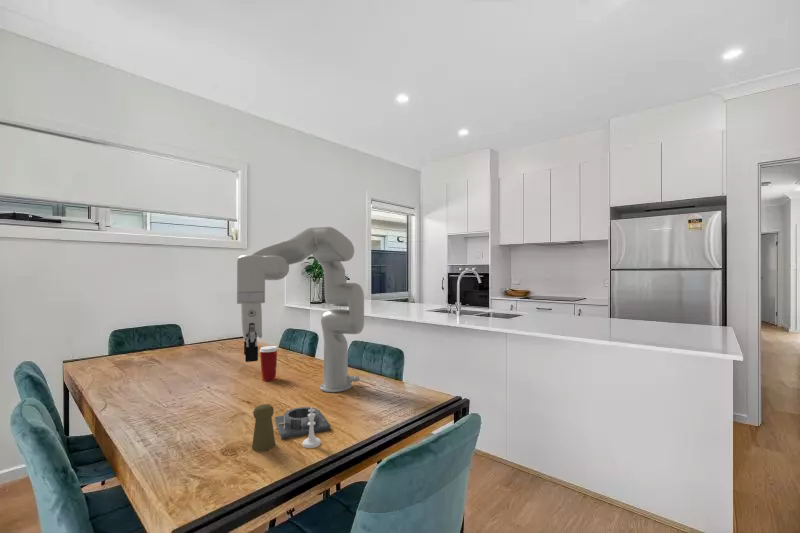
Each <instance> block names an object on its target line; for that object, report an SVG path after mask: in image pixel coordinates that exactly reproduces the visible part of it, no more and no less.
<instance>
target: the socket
mask: <svg viewBox="0 0 800 533" xmlns="http://www.w3.org/2000/svg"><path fill="white" fill-rule="evenodd" d="M311 407H312V406H303V407H301V406H300V407H295V408H291V409H288V410H287V411H286V412H285V413H284V414H283V415H280V416H279V415H278V416H274V423H275V426H276V429H277V430H278V433H279V436H280V438H281V440H286V439H292V438H296V437H301V436H307V435H309V429H310V425H308V422H310V421H309V418H308V414H310V413H311V412H308V410H311V409H310V408H311ZM314 409H315V411H314V412H312V413H314V414H315V417H314V422H315V425H313V427H314V434H317V433H322V432H328V431H331V424H330V423H329V421H328V419H326V417H325V416H324V414H323V413H322V411H321V410H320V409H318V408H315V407H312V410H314Z"/></svg>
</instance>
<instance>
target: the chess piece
mask: <svg viewBox="0 0 800 533" xmlns="http://www.w3.org/2000/svg"><path fill="white" fill-rule="evenodd" d="M310 407H311V408H310V409H311V410H308V412H311V413H310V414H308V418H309V421H310V422H308V425H310V429H309V434H308V436H307V438H306V439H303V441H302V445H301V446H302V447H303V448H306V449H313V448H317V447H319V446H320V445H321V443H322V441H321V439H320V438H319V437H317V436H315V433H314V427H313V425H315V422H314V417H315V414H314V413H312V412H314V411H315V409H314V410H312V408H313V406H310Z"/></svg>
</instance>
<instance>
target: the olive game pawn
mask: <svg viewBox="0 0 800 533" xmlns="http://www.w3.org/2000/svg"><path fill="white" fill-rule="evenodd" d="M274 411H275V410H274V407H273V405H271V404H268V403H266V404H265V403H264V404H259V405H257V406H256V407H254V410H253V412H252V414H253V418H254V419H255V420H254V430H253V437H252V444H251V449H252V451H255V452H266V451H269V450H272V449H273V448H275V446H276V439H275V431H274V425H273V418H272V417H273V415H274V413H275V412H274Z"/></svg>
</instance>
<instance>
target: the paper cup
mask: <svg viewBox="0 0 800 533" xmlns="http://www.w3.org/2000/svg"><path fill="white" fill-rule="evenodd" d="M278 350H279V349H278V346H275V345H267V346H266V345H265V346H261V347H260V349H259V353H260V367H261V368H260V369H261V380H262V381H263V382H272V381H275V380H276V377H277V359H278Z"/></svg>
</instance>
